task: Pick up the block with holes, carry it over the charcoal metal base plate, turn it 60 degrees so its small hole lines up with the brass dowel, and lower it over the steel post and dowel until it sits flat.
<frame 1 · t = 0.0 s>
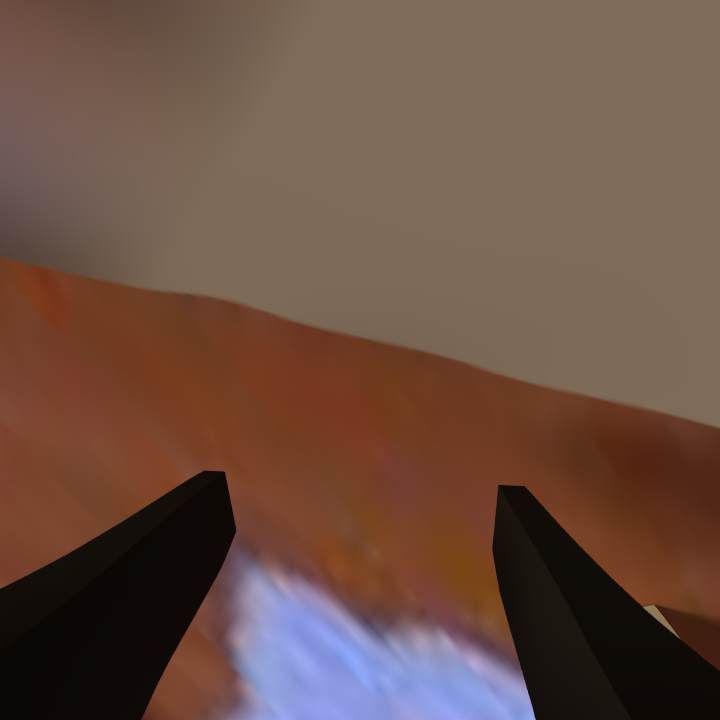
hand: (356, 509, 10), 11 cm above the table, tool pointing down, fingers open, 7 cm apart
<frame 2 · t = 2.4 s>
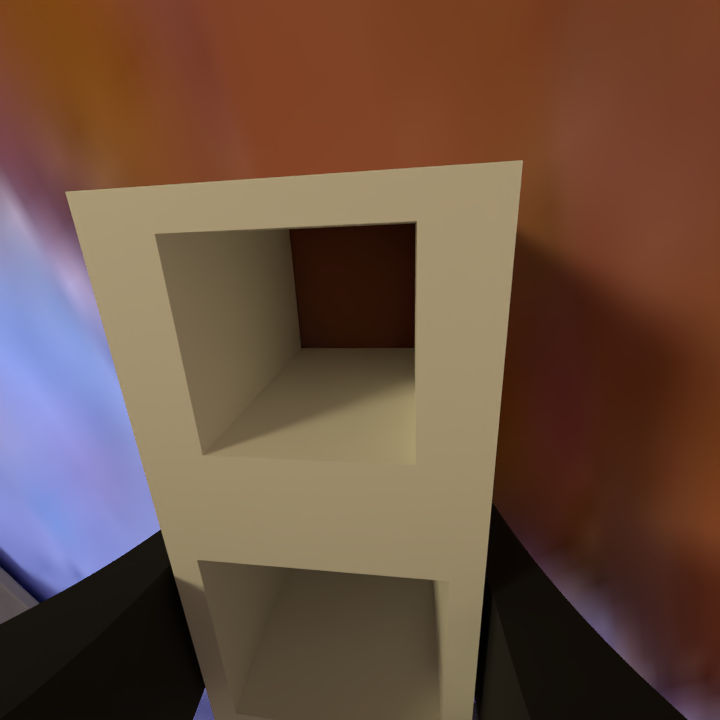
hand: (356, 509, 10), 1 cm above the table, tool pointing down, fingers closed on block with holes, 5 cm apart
block with holes: (363, 475, 11), on the table, touching gripper
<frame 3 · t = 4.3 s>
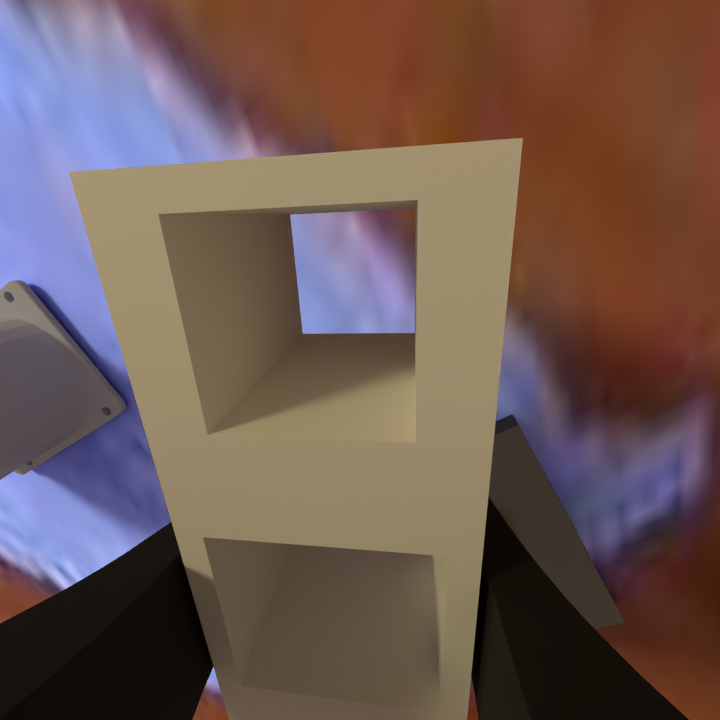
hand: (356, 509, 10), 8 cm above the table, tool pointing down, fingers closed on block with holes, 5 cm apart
block with holes: (363, 460, 11), point 7 cm above the table, touching gripper
flange base: (410, 569, 21), on the table
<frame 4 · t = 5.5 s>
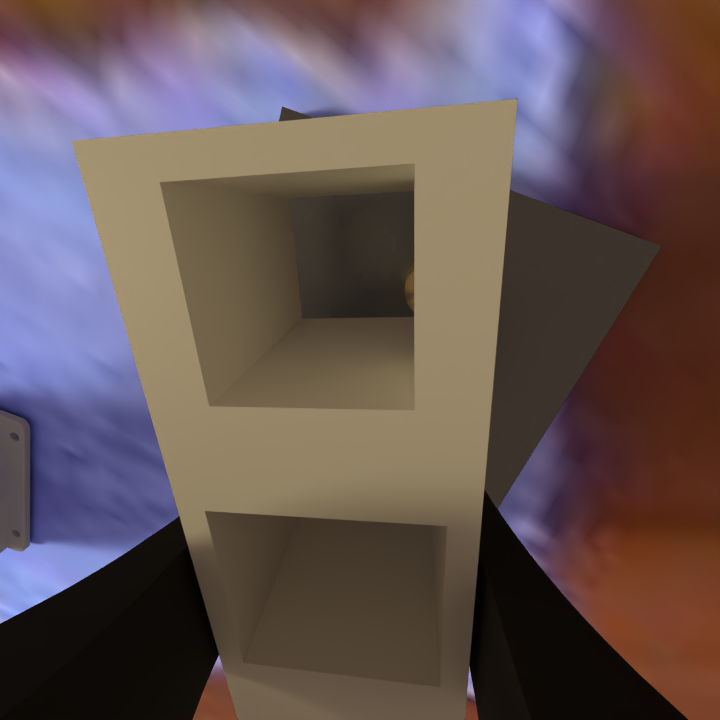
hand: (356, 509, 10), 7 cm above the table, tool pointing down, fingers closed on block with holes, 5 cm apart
block with holes: (364, 445, 11), point 5 cm above the table, touching gripper
flange base: (378, 397, 16), on the table
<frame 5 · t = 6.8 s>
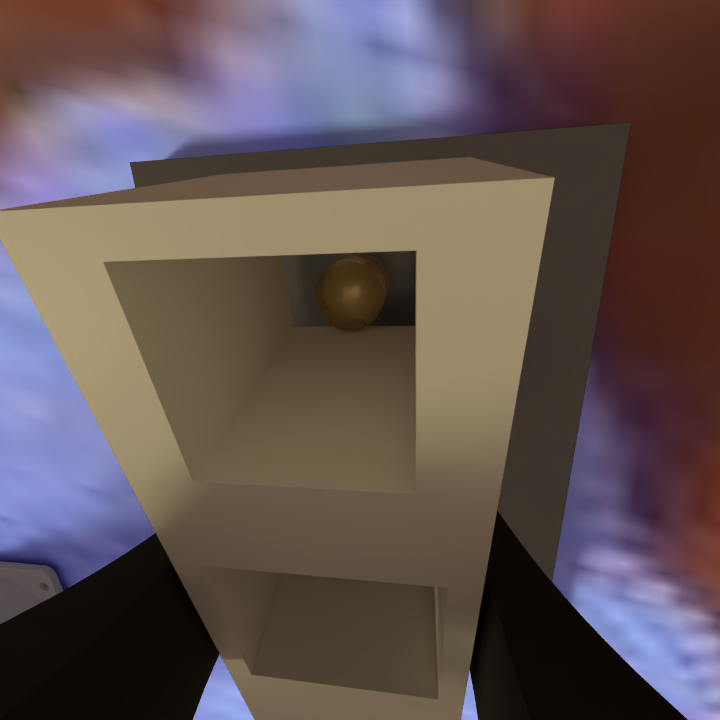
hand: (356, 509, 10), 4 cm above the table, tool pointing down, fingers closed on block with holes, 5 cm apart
block with holes: (363, 448, 11), point 2 cm above the table, tilted 10°, touching gripper
flange base: (372, 430, 14), on the table
when the fingers open (4 cm above the table, at t = 7.3 s): block with holes drops 1 cm, resting on flange base.
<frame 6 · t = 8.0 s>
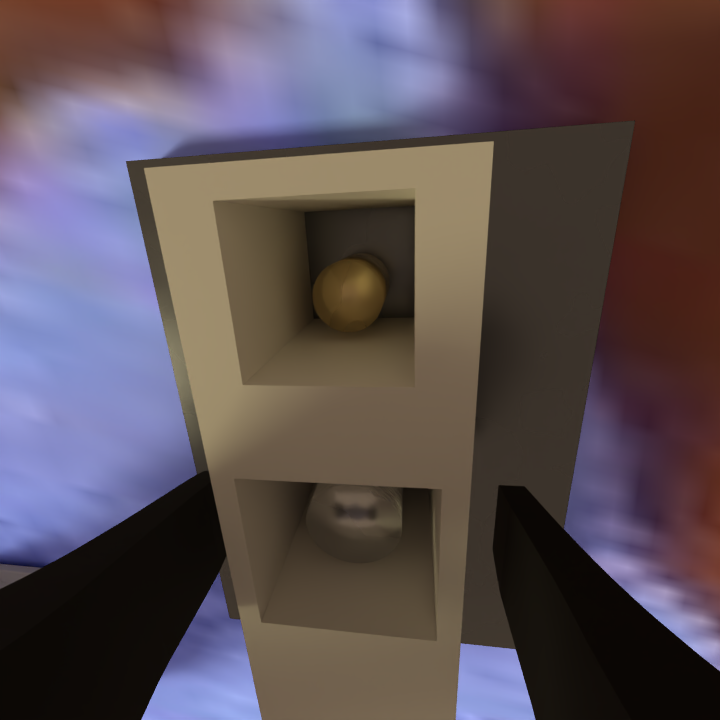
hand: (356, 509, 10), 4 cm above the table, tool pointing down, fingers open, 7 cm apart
block with holes: (368, 436, 12), point 1 cm above the table, touching flange base
flange base: (371, 432, 13), on the table
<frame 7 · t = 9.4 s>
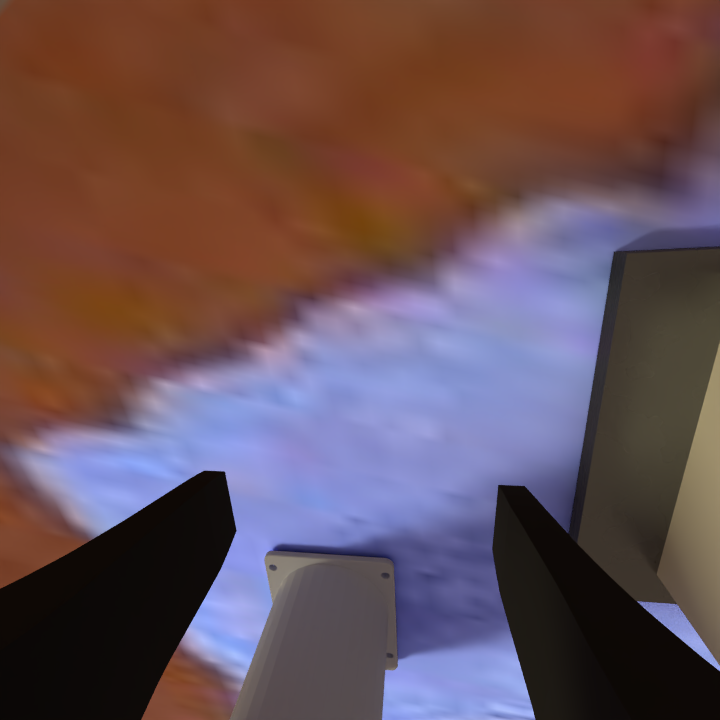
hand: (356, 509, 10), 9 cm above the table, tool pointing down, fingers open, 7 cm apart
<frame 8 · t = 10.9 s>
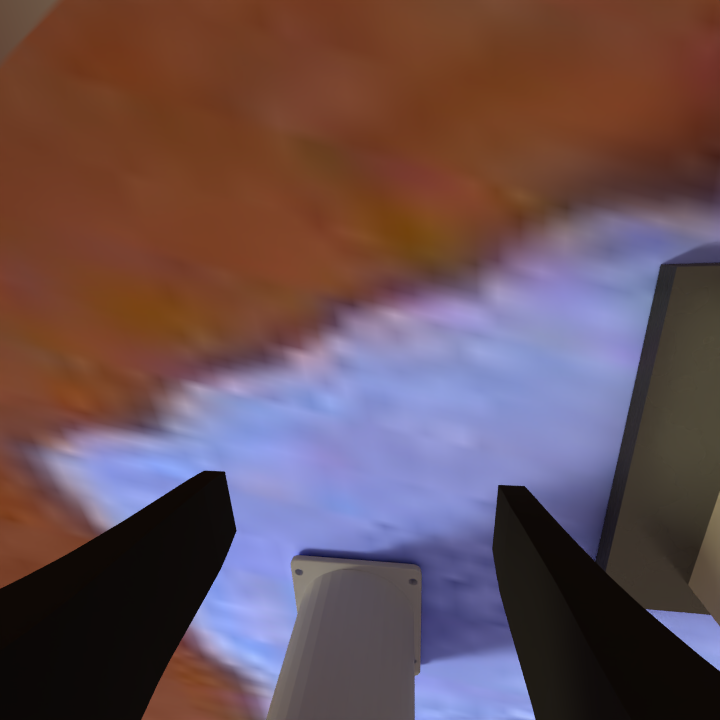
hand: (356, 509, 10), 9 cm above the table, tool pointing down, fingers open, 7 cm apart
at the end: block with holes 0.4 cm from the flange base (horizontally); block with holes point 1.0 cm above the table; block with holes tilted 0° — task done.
